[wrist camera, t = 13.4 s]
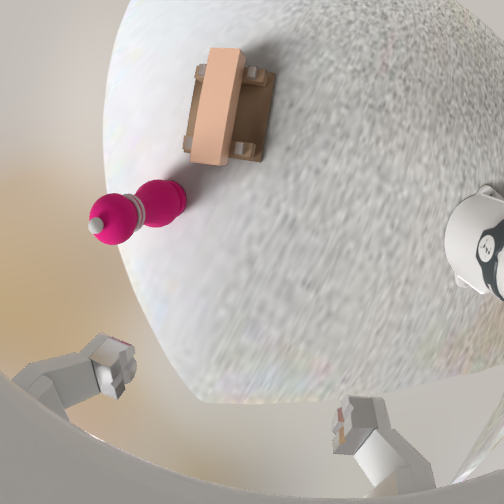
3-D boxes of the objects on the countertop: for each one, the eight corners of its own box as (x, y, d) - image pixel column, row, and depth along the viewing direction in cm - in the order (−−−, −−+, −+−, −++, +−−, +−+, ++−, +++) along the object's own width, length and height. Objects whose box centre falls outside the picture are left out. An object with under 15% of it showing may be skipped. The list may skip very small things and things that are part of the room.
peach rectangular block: (246, 58, 32) (240, 48, 29) (227, 165, 38) (219, 165, 34) (218, 57, 33) (210, 47, 29) (200, 161, 38) (189, 161, 34)
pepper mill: (159, 171, 43) (75, 183, 25) (196, 188, 43) (124, 210, 25) (145, 209, 46) (64, 242, 27) (180, 228, 46) (109, 272, 27)
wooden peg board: (275, 75, 36) (271, 63, 31) (260, 162, 41) (255, 162, 35) (200, 70, 37) (187, 59, 32) (186, 152, 42) (171, 151, 37)
